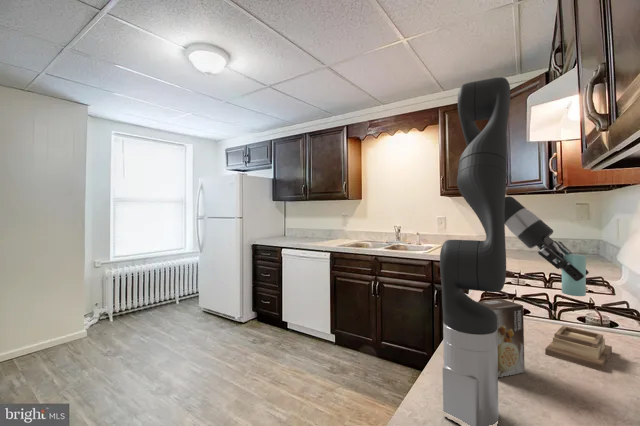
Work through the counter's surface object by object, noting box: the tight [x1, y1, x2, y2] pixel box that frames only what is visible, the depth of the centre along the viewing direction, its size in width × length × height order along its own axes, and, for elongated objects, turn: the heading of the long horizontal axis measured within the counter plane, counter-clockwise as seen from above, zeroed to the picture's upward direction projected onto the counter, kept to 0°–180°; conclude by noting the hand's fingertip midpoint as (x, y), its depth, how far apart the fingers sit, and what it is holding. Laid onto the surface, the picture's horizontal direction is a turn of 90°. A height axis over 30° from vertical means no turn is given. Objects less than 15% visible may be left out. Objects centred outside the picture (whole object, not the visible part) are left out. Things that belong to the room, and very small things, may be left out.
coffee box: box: [477, 298, 526, 378], centre depth 73 cm, size 9×6×16 cm
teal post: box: [561, 253, 587, 297], centre depth 79 cm, size 5×5×10 cm
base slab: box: [544, 325, 613, 371], centre depth 80 cm, size 14×11×5 cm
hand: (583, 276), depth 78 cm, fingers closed on teal post, 4 cm apart
